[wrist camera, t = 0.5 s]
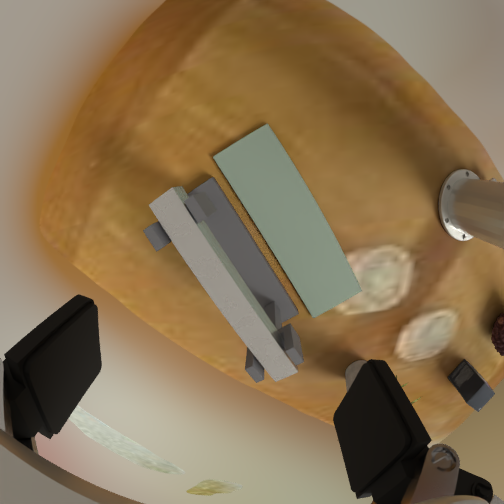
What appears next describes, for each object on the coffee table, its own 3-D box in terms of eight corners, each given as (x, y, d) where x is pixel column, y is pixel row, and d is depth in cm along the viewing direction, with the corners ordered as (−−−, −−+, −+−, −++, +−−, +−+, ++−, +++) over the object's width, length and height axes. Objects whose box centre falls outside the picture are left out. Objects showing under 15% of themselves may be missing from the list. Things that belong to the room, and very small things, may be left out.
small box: (477, 370, 46) (496, 393, 36) (460, 388, 48) (477, 413, 38) (464, 357, 45) (486, 382, 35) (446, 377, 47) (465, 404, 37)
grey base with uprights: (214, 177, 38) (182, 178, 23) (297, 309, 43) (310, 371, 28) (180, 200, 39) (133, 215, 24) (265, 326, 44) (264, 391, 29)
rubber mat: (267, 124, 35) (267, 123, 35) (360, 289, 41) (362, 290, 41) (213, 157, 37) (212, 157, 36) (312, 316, 43) (313, 318, 42)
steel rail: (181, 185, 27) (172, 187, 24) (296, 356, 32) (298, 371, 29) (159, 201, 28) (148, 205, 25) (275, 366, 32) (275, 381, 30)
